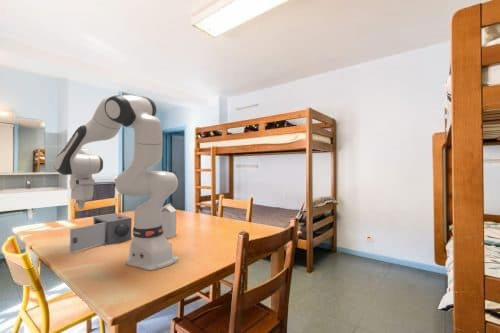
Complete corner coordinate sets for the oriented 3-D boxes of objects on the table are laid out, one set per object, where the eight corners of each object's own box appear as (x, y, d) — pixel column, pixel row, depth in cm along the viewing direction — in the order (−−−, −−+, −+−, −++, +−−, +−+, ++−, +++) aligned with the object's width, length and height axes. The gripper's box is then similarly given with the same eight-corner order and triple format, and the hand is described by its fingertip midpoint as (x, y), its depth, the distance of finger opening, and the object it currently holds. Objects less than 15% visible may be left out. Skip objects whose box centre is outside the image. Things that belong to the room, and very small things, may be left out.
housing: (133, 240, 129) (133, 217, 130) (109, 245, 120) (110, 221, 120) (115, 233, 143) (115, 212, 143) (93, 237, 134) (93, 215, 134)
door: (105, 242, 123) (105, 222, 123) (107, 242, 122) (107, 222, 122) (69, 252, 108) (70, 229, 108) (72, 252, 107) (72, 229, 107)
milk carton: (176, 235, 140) (176, 203, 140) (171, 238, 133) (171, 205, 133) (164, 234, 141) (165, 203, 141) (159, 238, 134) (159, 205, 134)
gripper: (67, 181, 121) (67, 208, 120) (80, 181, 108) (80, 211, 108) (81, 180, 126) (81, 206, 125) (96, 180, 113) (95, 209, 113)
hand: (81, 208), depth 116 cm, fingers closed
